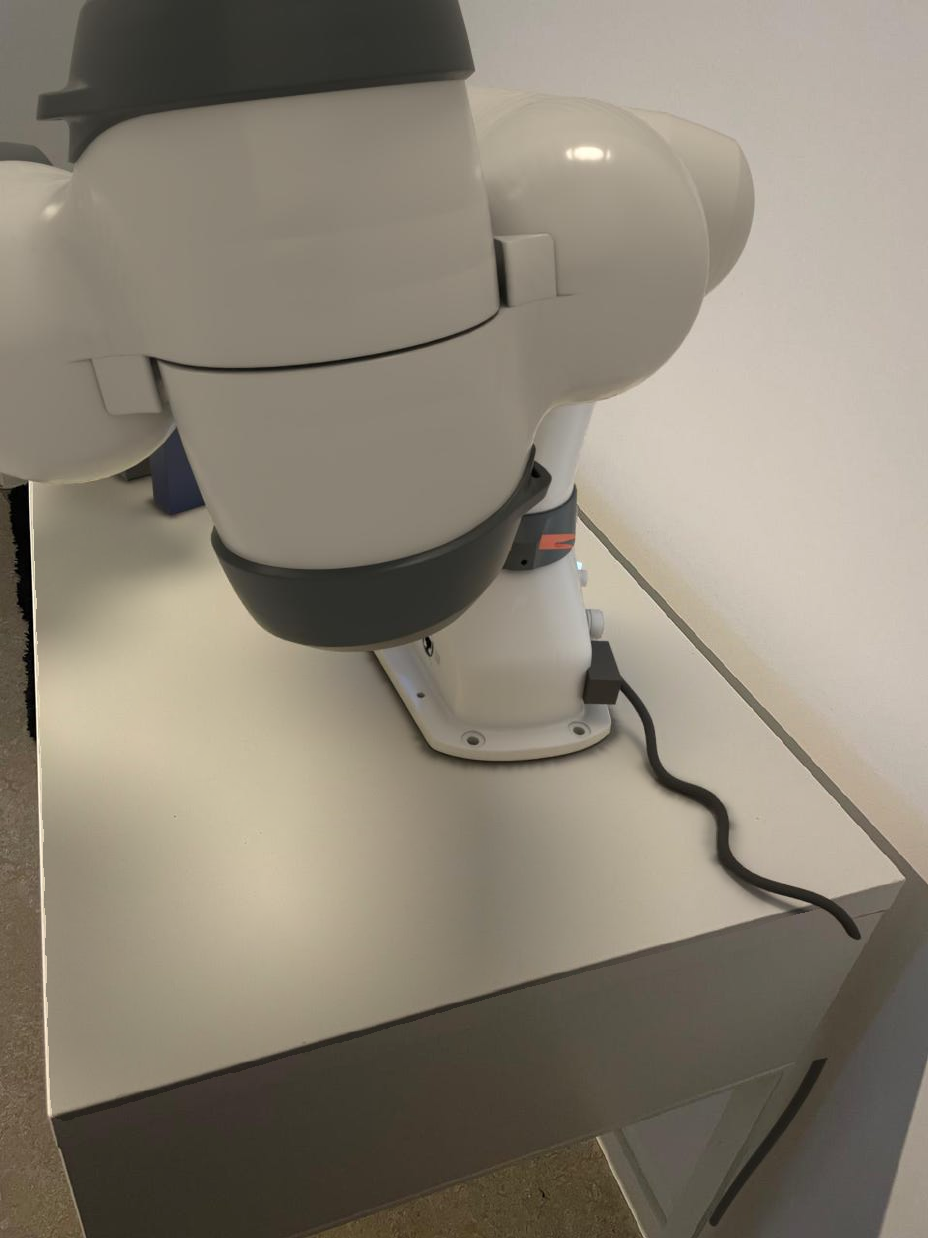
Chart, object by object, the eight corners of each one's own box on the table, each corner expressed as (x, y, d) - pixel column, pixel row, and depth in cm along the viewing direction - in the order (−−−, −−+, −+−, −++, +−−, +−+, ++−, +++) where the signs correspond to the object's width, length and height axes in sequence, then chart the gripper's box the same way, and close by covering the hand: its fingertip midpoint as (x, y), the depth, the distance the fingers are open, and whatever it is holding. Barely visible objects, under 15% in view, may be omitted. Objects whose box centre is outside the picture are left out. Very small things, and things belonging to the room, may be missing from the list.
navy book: (260, 487, 91) (257, 351, 82) (169, 515, 84) (157, 370, 76) (242, 475, 92) (238, 340, 84) (152, 501, 86) (138, 359, 78)
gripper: (-15, 277, 74) (111, 370, 86) (110, 360, 63) (233, 453, 75) (30, 216, 74) (149, 317, 86) (162, 287, 64) (277, 392, 75)
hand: (190, 381), depth 81 cm, fingers open, 8 cm apart
